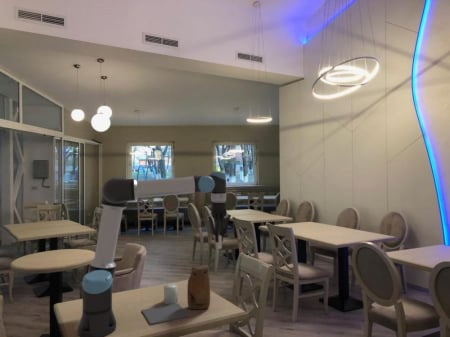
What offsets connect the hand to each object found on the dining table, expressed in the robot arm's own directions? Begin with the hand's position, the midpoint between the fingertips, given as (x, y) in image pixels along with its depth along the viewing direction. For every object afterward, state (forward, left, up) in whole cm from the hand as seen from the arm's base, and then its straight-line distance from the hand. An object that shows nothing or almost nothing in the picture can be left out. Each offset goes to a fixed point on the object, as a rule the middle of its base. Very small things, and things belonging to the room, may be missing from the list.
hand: (219, 248), depth 171 cm
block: (-11, 0, -28) cm, 30 cm away
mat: (-28, 0, -28) cm, 39 cm away
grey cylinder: (-21, +13, -28) cm, 37 cm away
